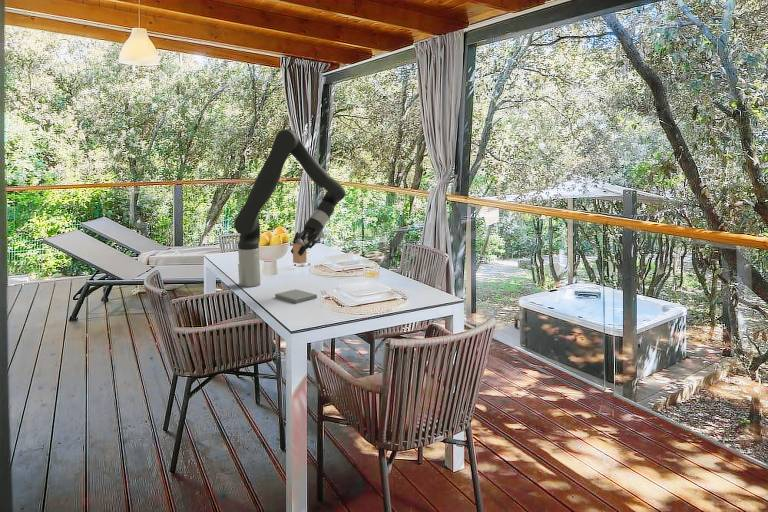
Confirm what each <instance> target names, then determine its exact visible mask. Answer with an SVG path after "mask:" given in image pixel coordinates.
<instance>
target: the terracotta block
mask: <svg viewBox="0 0 768 512" xmlns="http://www.w3.org/2000/svg"><path fill="white" fill-rule="evenodd" d="M302 246H303V243H300V242H299V243H296V244H294V243H292V248H293V254H292V263H294V264H298V265H299V264H303V263H304V264H305V263H307V249H306V250H305V252H304V253H303V254H302V256H300V255H299V254H298V251H299V250H300V248H301V247H302Z"/></svg>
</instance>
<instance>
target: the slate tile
mask: <svg viewBox="0 0 768 512" xmlns="http://www.w3.org/2000/svg"><path fill="white" fill-rule="evenodd" d="M274 295H275V296H274V298H276V299H279V300H283V301H286V302H290V303H293V304H300V303H303V302H307V301H311V300H315V299H317V298H318V294H315V293H312V292H308V291H304V290H299V289H291V290H287V291H283V292H277V293H275V294H274Z"/></svg>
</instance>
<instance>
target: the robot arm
mask: <svg viewBox="0 0 768 512" xmlns="http://www.w3.org/2000/svg"><path fill="white" fill-rule="evenodd" d="M290 154H291V155H292V156H293V157H294V158H295V159H296V161H298V162H299V164H300V165H301V167H302V169H303V170H304V171H305V173H306V174H307V176H308V177H309V178H310V179H311V180H312V182H314V184H315V185H316V186H317V187H318V188H320V189H321V188H323V189H324V190H326V193H325V194H324V195H323V197H322V199H321V202H320V203H319V204H318V206H317V207H316V208H315V210H314V212H312V213H311V215H310V216H309V218H308V219H307V221H306V222H305V224H303V225H304V226H303V230H302V231H301V232H298V231H296V232H295V234H294V238H293V240H292V244H296V243H303V246H302V247H301V248H300V250H299V251H298V254H299V255H300V256H302V254H303V253H304V252H305V250H306V251H307V250H308V249H312V248H313V247H314V246H315V245H316V244H317V243H318V242H319V241H320V240H321V238H320V237H319V235H320V234H321V233H322V232H323V230H324V228H325V226H326V225H327V223H328V221H329V219H330V217H331V216H332V215H333V213H334V211H335V208H336V207H337V205H338V203H339V202H341V201H342V200H343V199H344V198H346V189H345V188H344V186H343V185H342V184H341V183H340V182H338V181H337V180H336V179H335V178H333V177H332V176H330V174H328V173H327V171H326V170H325V169H324V168H323V166H322V165H320V163H319V162H318V161H317V160H316V159H315V158H314V157H313V156H312V154H311V153H310V152H309V151H308V150H307V147H306V146H305V145H304V144H303V142H302V141H301V139H300V138H299V135H298V134H297V132H295V131H294V130H292V129H288V128H287V129H282V130H280V131H278V133H277V134H276V136H275V138H274V141H273V144H272V147H271V150H270V153H268V157H267V159H266V160H265V162H264V163H263V165H262V167H261V168H260V170H259V172H258V174H257V177H256V179H255V180H254V183H253V185H252V187H251V190H250V192H249V193H248V196H247V199H246V201H245V202H244V205H243V207H242V209H240V211H239V213H238V214H237V216H236V218H235V220H234V228H235V231H236V232H237V233H238V234H239V235H240V237H239V241H238V242H237V249H238V251H237V252H238V264H237V265H238V283H239V285H240V286H241V287H247V288H248V287H256V286H260V285H261V264H260V248H259V247H260V246H259V245H260V239H261V231H260V230H261V225H260V220H259V217H258V216H259V213H260V211H261V210H262V208H263V207H264V206H265V205H266V203H267V202H268V201H269V200H270V198H271V196H273V193H274V192H275V191H276V188H277V186H278V185H279V182H280V179H281V175H282V171H283V169H284V166H285V165H284V164H285V162H286V161H287V159H288V157H289V155H290ZM290 253H291V254H292V255H293V247H292V248H291V250H290Z"/></svg>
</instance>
